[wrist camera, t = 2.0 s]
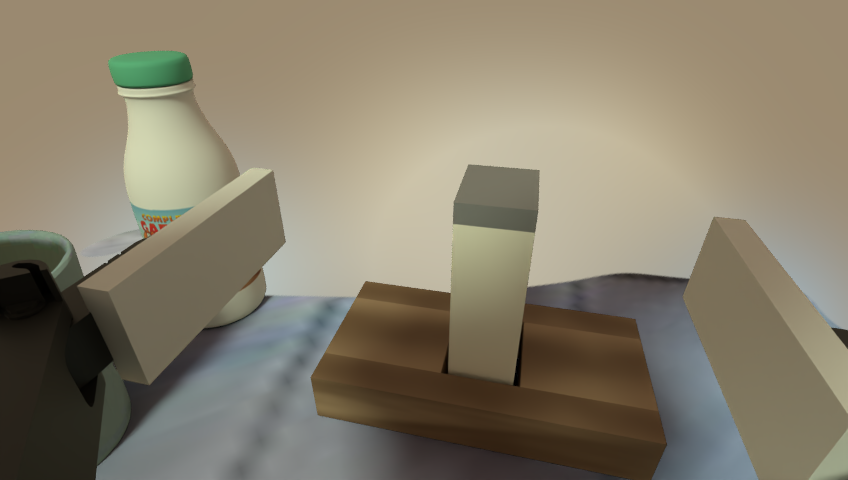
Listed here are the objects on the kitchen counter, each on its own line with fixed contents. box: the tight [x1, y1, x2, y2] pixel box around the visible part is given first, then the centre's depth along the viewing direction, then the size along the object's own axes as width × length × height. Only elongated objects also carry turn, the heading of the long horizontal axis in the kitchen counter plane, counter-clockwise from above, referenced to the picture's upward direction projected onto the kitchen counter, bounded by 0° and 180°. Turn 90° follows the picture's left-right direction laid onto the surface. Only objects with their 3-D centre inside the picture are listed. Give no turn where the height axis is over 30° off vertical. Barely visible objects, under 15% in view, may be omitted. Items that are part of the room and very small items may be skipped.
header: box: [311, 281, 667, 480], centre depth 30 cm, size 10×20×4 cm, turn 77°
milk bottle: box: [108, 51, 266, 328], centre depth 34 cm, size 8×8×20 cm
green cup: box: [0, 230, 131, 465], centre depth 25 cm, size 10×10×12 cm
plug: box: [448, 165, 539, 386], centre depth 27 cm, size 5×4×15 cm
